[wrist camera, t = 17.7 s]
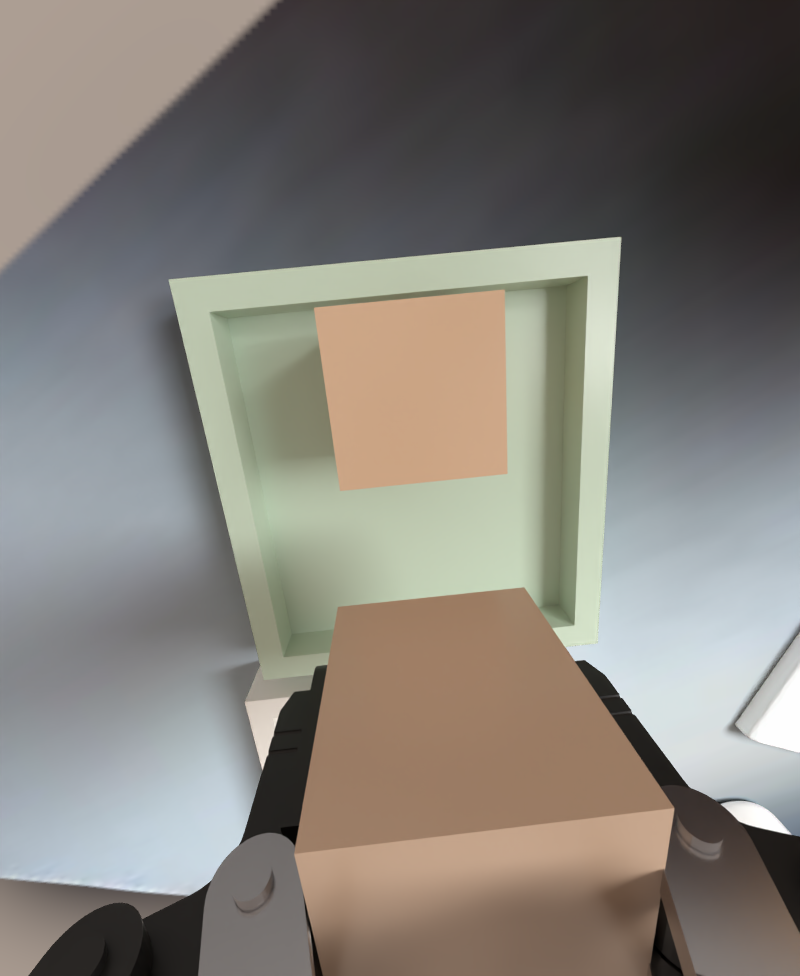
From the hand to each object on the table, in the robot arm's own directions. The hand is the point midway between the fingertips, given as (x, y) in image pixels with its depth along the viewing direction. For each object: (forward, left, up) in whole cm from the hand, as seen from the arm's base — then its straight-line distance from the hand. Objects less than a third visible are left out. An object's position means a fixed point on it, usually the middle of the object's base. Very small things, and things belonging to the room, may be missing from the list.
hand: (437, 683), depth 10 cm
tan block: (0, 0, 0) cm, 0 cm away
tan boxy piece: (0, -7, -7) cm, 10 cm away
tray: (0, -3, -8) cm, 9 cm away
